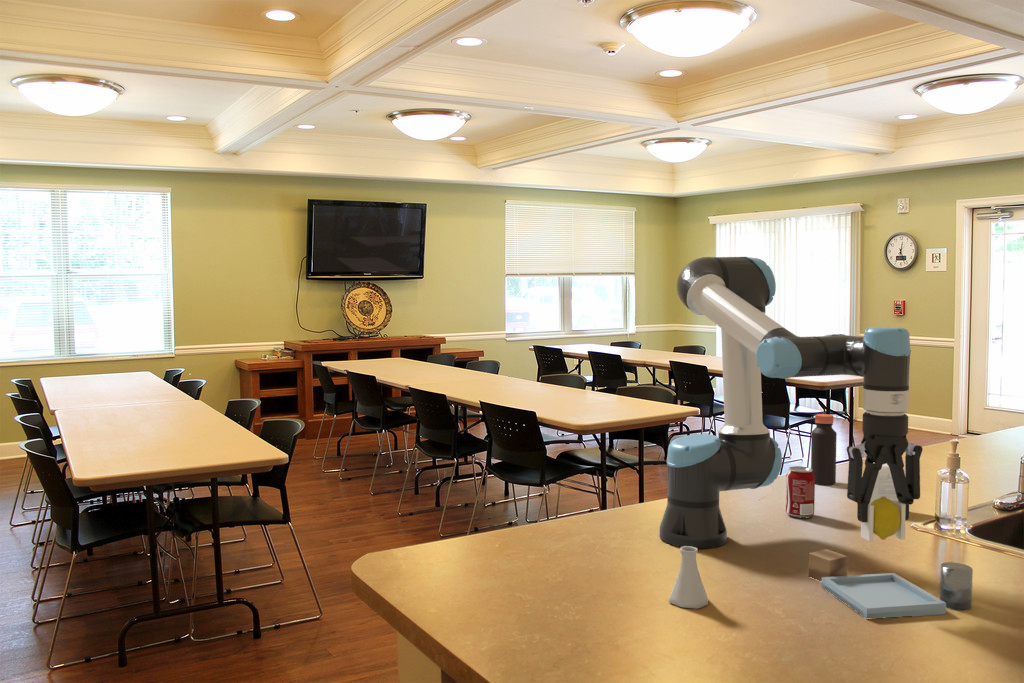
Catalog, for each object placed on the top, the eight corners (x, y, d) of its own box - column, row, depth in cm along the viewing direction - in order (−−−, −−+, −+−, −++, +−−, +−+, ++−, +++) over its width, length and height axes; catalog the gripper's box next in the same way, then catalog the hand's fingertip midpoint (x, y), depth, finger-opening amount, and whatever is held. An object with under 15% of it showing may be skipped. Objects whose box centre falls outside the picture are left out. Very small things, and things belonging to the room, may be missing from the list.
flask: (701, 613, 142) (701, 558, 141) (662, 604, 146) (662, 551, 145) (714, 599, 148) (714, 546, 147) (677, 591, 152) (677, 540, 151)
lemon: (897, 536, 147) (898, 493, 147) (901, 545, 142) (902, 501, 142) (864, 533, 149) (865, 491, 149) (867, 542, 144) (868, 499, 143)
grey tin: (952, 611, 141) (953, 572, 141) (933, 600, 146) (934, 563, 146) (978, 609, 142) (979, 571, 142) (958, 598, 147) (959, 561, 146)
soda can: (818, 519, 197) (819, 471, 196) (790, 519, 197) (791, 471, 196) (808, 511, 204) (809, 465, 203) (782, 511, 204) (782, 465, 203)
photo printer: (902, 509, 205) (903, 462, 204) (908, 514, 201) (910, 465, 200) (860, 508, 206) (861, 461, 205) (866, 513, 202) (867, 465, 201)
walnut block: (829, 585, 154) (829, 560, 154) (808, 577, 158) (808, 553, 158) (846, 581, 156) (847, 556, 156) (826, 573, 161) (826, 549, 160)
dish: (866, 619, 138) (866, 608, 138) (821, 587, 153) (821, 577, 153) (945, 614, 140) (946, 602, 140) (893, 582, 155) (894, 572, 155)
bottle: (839, 485, 230) (840, 417, 228) (815, 485, 230) (816, 417, 229) (830, 480, 237) (831, 413, 235) (807, 480, 237) (808, 413, 235)
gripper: (849, 417, 139) (846, 547, 141) (946, 414, 142) (942, 541, 143) (826, 410, 146) (824, 534, 148) (919, 407, 149) (916, 529, 151)
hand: (882, 537), depth 146 cm, fingers closed on lemon, 5 cm apart
